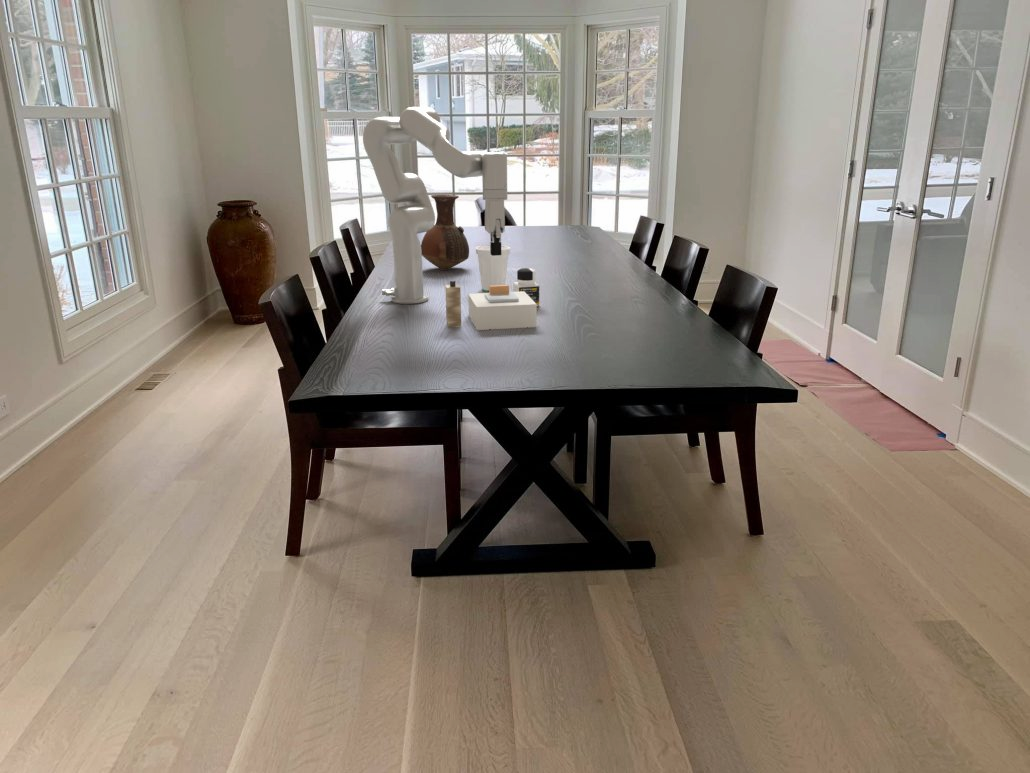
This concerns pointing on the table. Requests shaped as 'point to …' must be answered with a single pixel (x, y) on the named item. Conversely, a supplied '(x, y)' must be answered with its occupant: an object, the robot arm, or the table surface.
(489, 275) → the cup
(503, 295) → the grey tile with orange
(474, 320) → the socket
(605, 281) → the table surface
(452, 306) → the plug
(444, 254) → the vase
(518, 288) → the medicine bottle
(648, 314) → the table surface
